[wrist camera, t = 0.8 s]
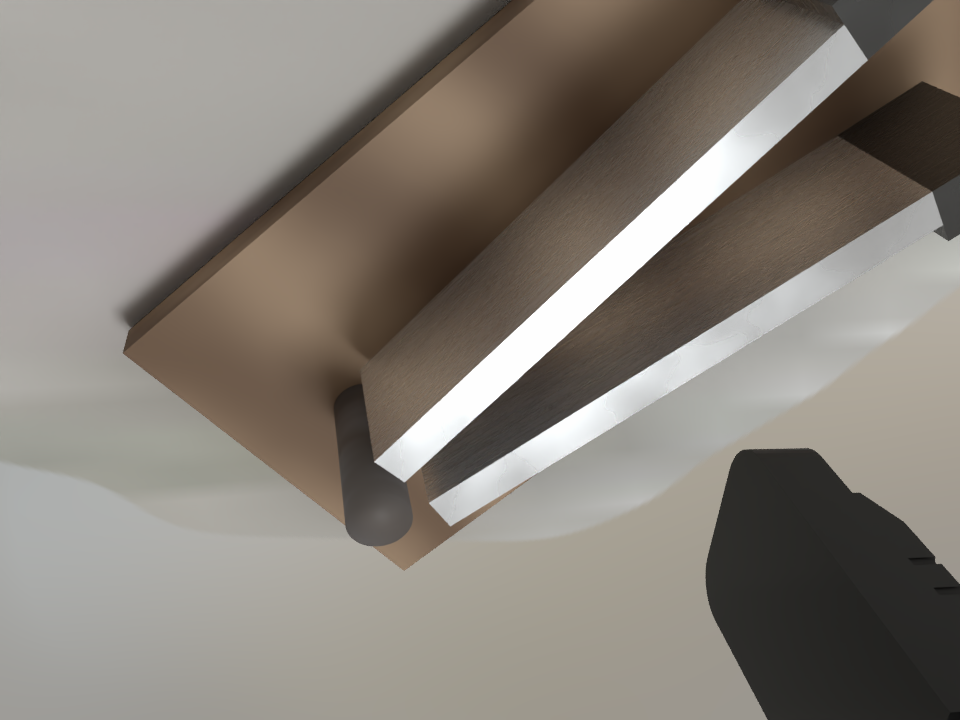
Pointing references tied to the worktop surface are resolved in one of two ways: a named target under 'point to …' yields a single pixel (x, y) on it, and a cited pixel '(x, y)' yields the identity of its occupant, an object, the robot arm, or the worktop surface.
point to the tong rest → (443, 231)
